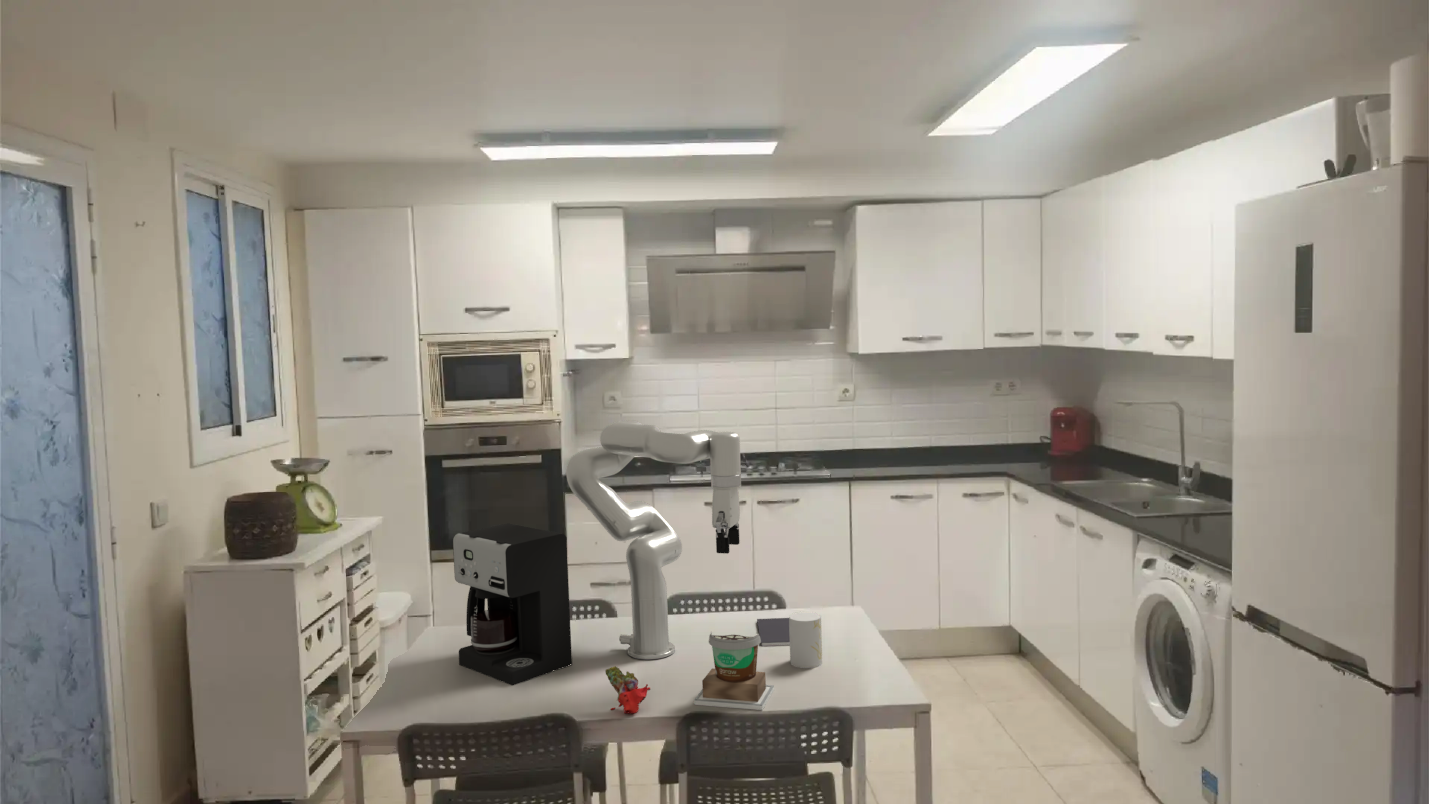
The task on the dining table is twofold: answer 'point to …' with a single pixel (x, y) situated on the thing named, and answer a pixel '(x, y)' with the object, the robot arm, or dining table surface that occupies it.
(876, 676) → the dining table surface
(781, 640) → the notebook
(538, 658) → the coffee maker
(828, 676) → the dining table surface
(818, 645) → the cup
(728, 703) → the picture frame
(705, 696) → the block
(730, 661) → the food container
